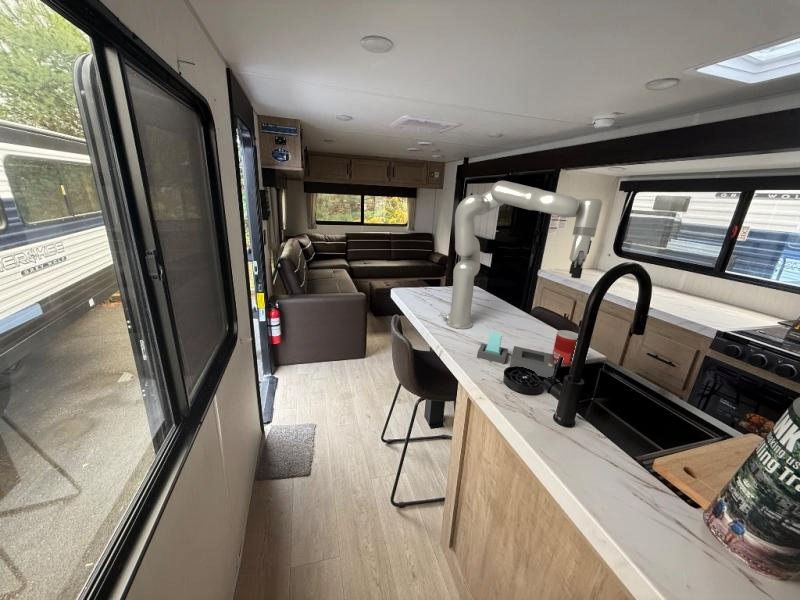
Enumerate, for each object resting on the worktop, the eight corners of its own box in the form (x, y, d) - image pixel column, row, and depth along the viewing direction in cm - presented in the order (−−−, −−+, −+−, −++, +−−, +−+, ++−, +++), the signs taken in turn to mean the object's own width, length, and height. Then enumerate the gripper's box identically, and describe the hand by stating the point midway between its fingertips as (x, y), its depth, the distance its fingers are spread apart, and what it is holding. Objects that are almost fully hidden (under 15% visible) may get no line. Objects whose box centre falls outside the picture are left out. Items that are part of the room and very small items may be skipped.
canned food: (574, 367, 113) (580, 339, 110) (550, 361, 117) (556, 334, 114) (575, 359, 119) (581, 333, 116) (552, 353, 123) (558, 328, 120)
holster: (476, 357, 116) (477, 351, 116) (481, 348, 124) (482, 343, 123) (504, 364, 112) (505, 357, 112) (507, 354, 120) (507, 348, 119)
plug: (484, 356, 117) (487, 334, 115) (486, 352, 121) (489, 331, 119) (498, 360, 115) (502, 338, 113) (500, 355, 119) (503, 334, 117)
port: (509, 368, 109) (511, 356, 108) (512, 355, 120) (514, 344, 119) (552, 379, 104) (555, 366, 103) (551, 364, 114) (554, 353, 113)
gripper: (571, 230, 127) (562, 271, 132) (575, 232, 112) (565, 278, 117) (592, 232, 124) (582, 273, 129) (598, 234, 109) (587, 281, 114)
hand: (574, 275), depth 123 cm, fingers open, 9 cm apart
